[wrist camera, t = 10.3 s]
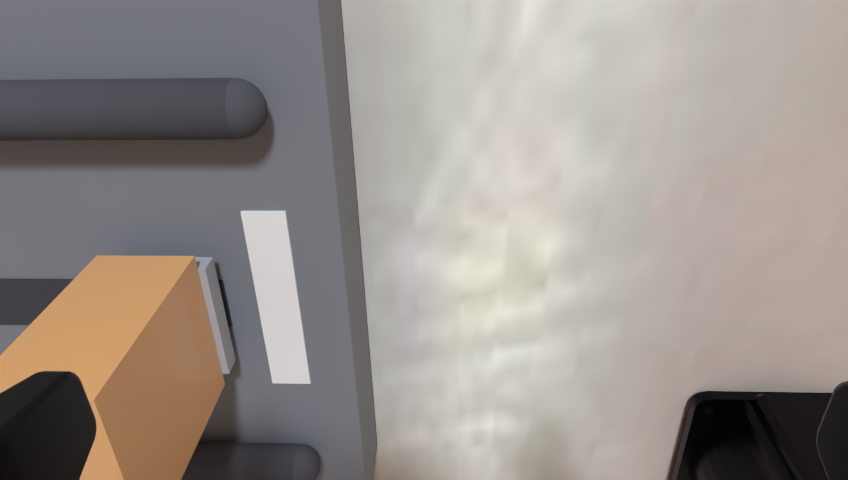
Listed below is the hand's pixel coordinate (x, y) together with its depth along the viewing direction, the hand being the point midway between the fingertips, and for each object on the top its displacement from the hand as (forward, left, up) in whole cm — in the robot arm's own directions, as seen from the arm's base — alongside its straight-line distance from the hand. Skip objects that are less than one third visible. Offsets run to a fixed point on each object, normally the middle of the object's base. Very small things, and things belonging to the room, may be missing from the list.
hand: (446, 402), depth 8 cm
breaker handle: (-5, +8, -9) cm, 13 cm away
